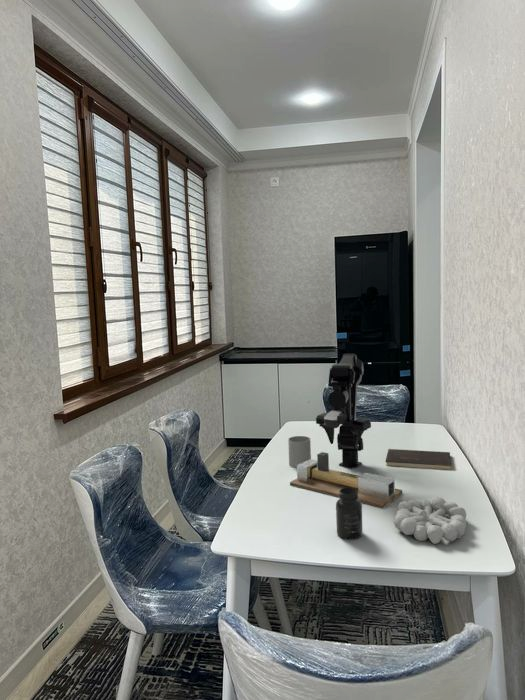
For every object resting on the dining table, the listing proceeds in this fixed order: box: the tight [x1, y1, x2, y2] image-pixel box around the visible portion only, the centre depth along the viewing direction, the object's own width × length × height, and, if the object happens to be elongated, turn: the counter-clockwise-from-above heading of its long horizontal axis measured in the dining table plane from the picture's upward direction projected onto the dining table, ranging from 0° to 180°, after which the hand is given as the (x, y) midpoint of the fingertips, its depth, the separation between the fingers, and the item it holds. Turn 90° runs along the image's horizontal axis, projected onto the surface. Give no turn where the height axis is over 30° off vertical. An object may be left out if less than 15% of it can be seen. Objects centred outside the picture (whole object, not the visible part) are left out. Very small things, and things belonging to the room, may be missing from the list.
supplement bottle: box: [335, 488, 363, 541], centre depth 134 cm, size 7×7×12 cm
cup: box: [287, 435, 312, 469], centre depth 191 cm, size 8×8×10 cm
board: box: [289, 478, 403, 509], centre depth 166 cm, size 14×34×1 cm, turn 51°
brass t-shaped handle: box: [310, 451, 361, 488], centre depth 167 cm, size 3×22×8 cm, turn 51°
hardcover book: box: [384, 448, 453, 470], centre depth 191 cm, size 16×23×2 cm
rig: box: [296, 458, 396, 500], centre depth 166 cm, size 8×32×5 cm, turn 51°
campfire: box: [393, 496, 467, 545], centre depth 137 cm, size 22×21×6 cm
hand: (343, 446), depth 173 cm, fingers open, 9 cm apart
